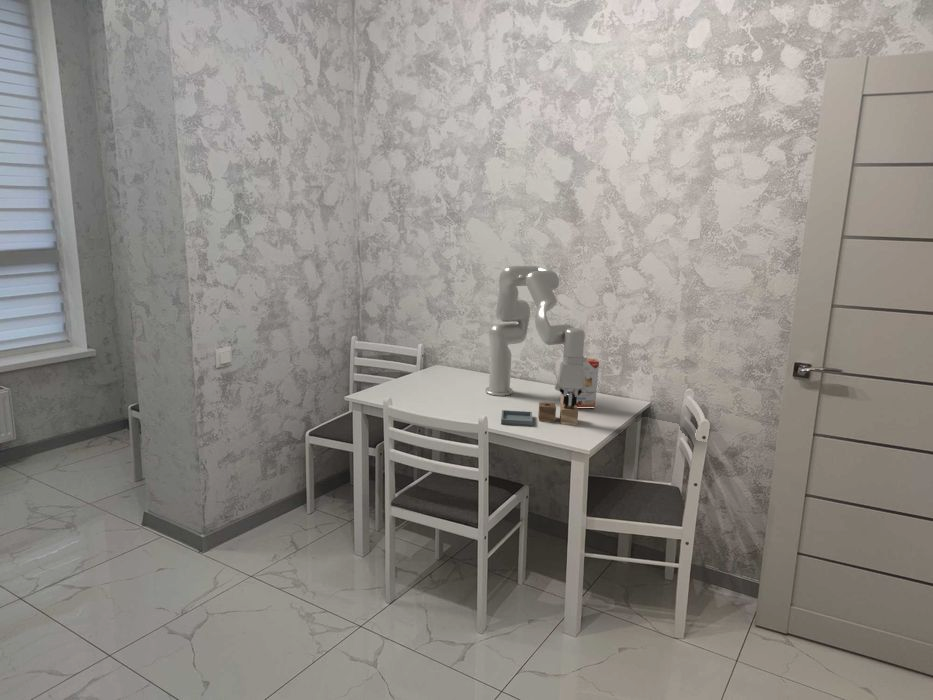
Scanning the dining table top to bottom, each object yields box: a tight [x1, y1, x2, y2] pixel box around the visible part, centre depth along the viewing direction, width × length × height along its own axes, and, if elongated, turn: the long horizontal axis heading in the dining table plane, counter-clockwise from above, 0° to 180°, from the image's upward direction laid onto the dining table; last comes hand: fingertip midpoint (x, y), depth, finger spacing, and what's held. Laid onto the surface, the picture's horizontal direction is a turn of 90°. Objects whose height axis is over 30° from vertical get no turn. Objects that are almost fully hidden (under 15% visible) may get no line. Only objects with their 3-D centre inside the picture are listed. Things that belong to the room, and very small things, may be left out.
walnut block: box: [538, 401, 557, 423], centre depth 255 cm, size 6×6×6 cm
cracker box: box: [560, 358, 600, 408], centre depth 271 cm, size 14×6×21 cm, turn 95°
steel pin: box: [566, 391, 574, 409], centre depth 252 cm, size 2×2×9 cm
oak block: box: [559, 405, 579, 425], centre depth 253 cm, size 6×6×6 cm
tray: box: [500, 409, 533, 427], centre depth 253 cm, size 12×12×2 cm
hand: (569, 405), depth 252 cm, fingers closed on steel pin, 2 cm apart
